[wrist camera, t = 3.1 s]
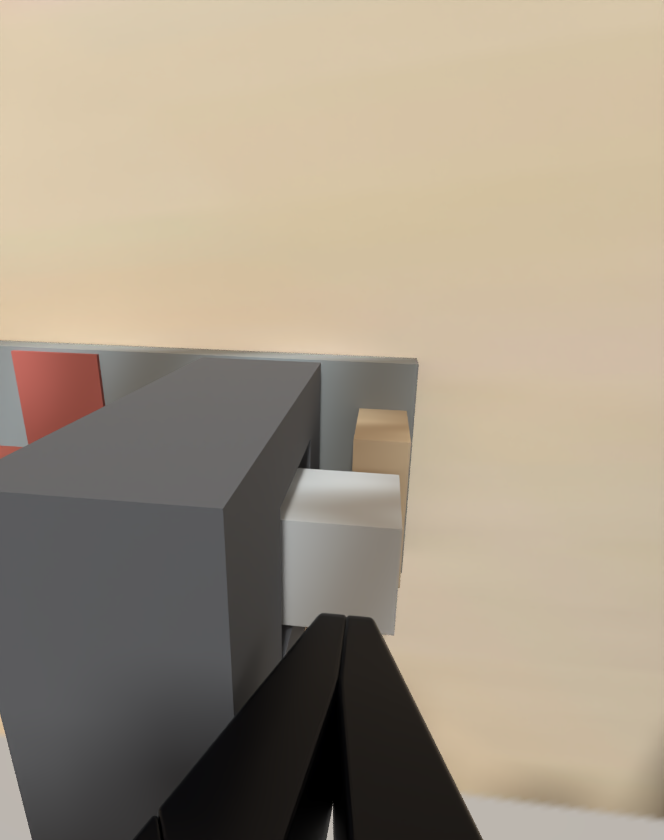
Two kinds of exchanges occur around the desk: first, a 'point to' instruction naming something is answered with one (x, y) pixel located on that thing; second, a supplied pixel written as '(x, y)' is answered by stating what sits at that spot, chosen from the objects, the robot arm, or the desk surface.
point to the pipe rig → (310, 488)
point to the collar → (145, 586)
